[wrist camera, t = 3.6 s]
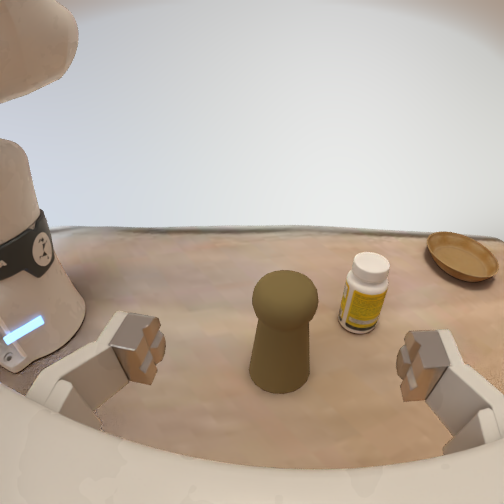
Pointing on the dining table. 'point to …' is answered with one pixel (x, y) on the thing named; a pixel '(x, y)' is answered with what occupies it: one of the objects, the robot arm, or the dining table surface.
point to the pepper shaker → (282, 330)
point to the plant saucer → (462, 256)
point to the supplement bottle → (364, 292)
